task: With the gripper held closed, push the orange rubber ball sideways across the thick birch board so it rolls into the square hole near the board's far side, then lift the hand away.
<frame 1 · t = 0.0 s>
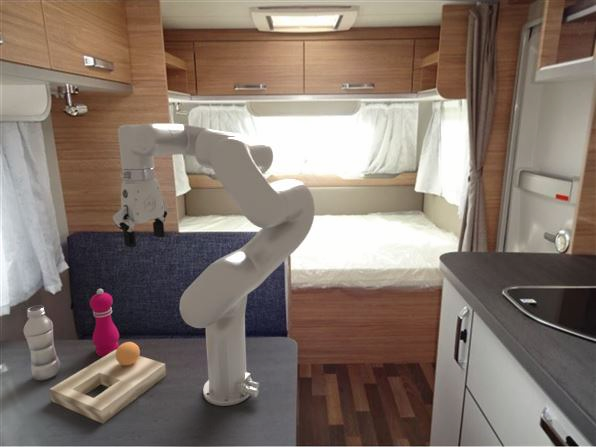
hand: (145, 241, 103), 37 cm above the table, tool pointing down, fingers open, 9 cm apart
hole board: (111, 387, 103), on the table
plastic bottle: (47, 377, 108), on the table
ball: (127, 353, 106), point 6 cm above the table, touching hole board
pepper mill: (107, 351, 120), on the table
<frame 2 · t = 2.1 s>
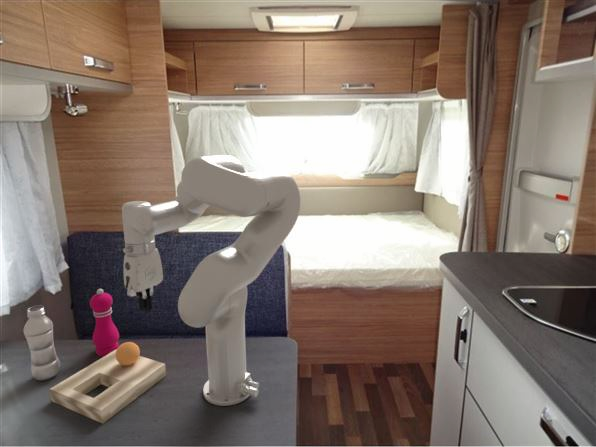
hand: (146, 309, 112), 16 cm above the table, tool pointing down, fingers closed
nothing on the table moved.
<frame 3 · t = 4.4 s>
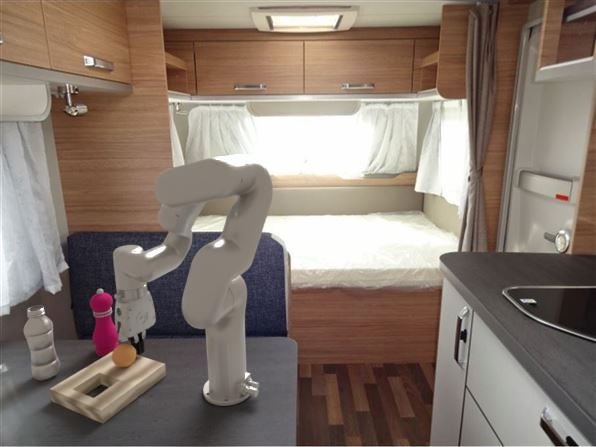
hand: (138, 352, 111), 5 cm above the table, tool pointing down, fingers closed
ball: (124, 355, 106), point 6 cm above the table, tilted 13°, touching gripper, hole board
everything else where it was.
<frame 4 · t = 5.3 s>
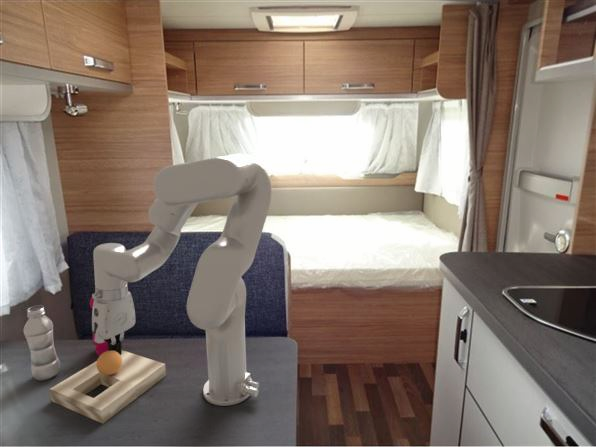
hand: (115, 354, 106), 6 cm above the table, tool pointing down, fingers closed
ball: (109, 362, 102), point 6 cm above the table, tilted 65°, touching gripper, hole board
everything else where it was.
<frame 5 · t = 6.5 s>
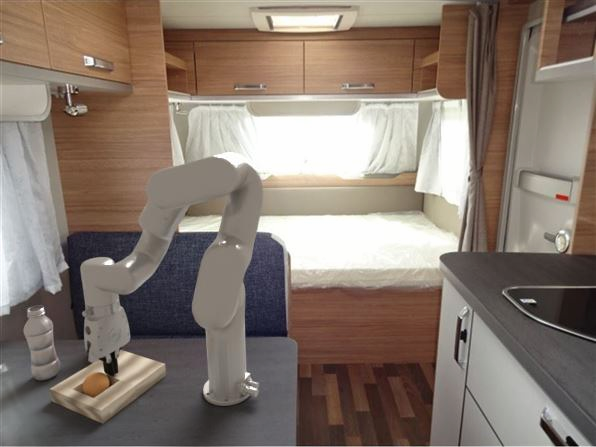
hand: (111, 372, 102), 4 cm above the table, tool pointing down, fingers closed
ball: (96, 384, 99), point 3 cm above the table, tilted 67°
everything else where it was.
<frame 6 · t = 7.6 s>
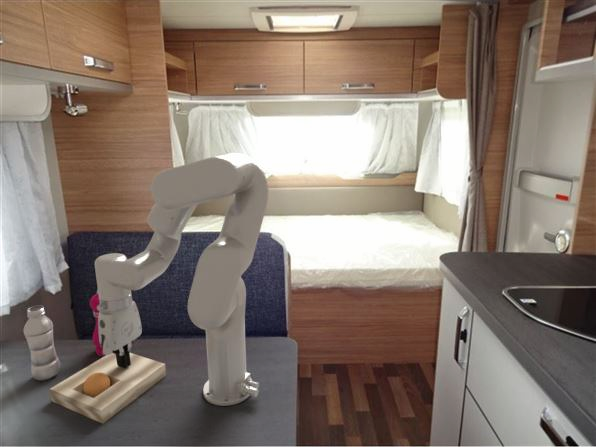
hand: (124, 365, 106), 4 cm above the table, tool pointing down, fingers closed
nothing on the table moved.
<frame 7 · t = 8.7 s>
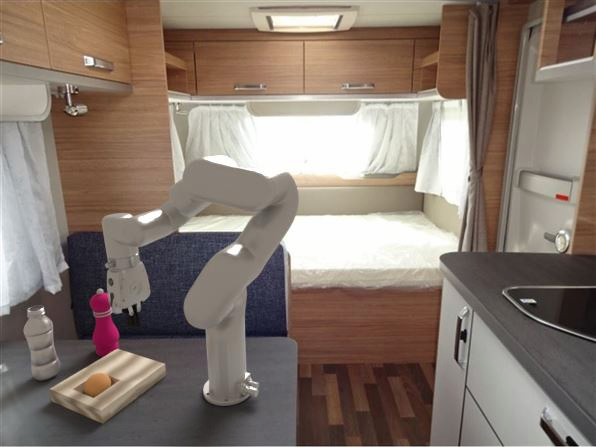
hand: (133, 326, 106), 14 cm above the table, tool pointing down, fingers closed
nothing on the table moved.
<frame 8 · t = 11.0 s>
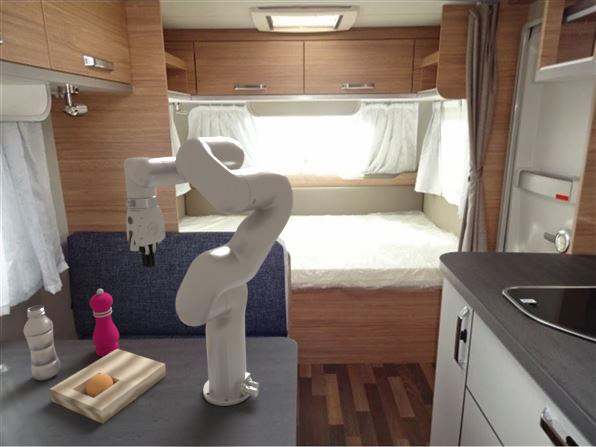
hand: (149, 266, 113), 27 cm above the table, tool pointing down, fingers closed
at the end: ball 0.8 cm from the target spot on the hole board, point 3.0 cm above the hole board's base; the gripper is holding nothing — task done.
